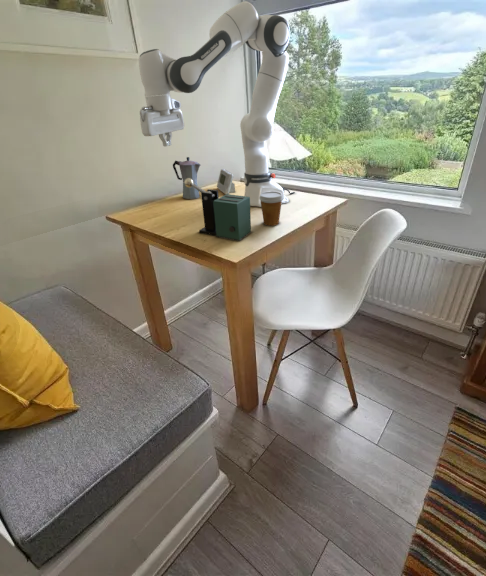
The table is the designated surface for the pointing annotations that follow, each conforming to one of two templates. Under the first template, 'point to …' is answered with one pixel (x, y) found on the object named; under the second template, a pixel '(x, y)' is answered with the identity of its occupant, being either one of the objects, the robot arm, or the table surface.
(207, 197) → the lever bracket
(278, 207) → the disposable coffee cup
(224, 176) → the digital clock
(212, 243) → the table surface
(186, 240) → the table surface
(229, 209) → the toaster
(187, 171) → the moka pot
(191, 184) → the lever
